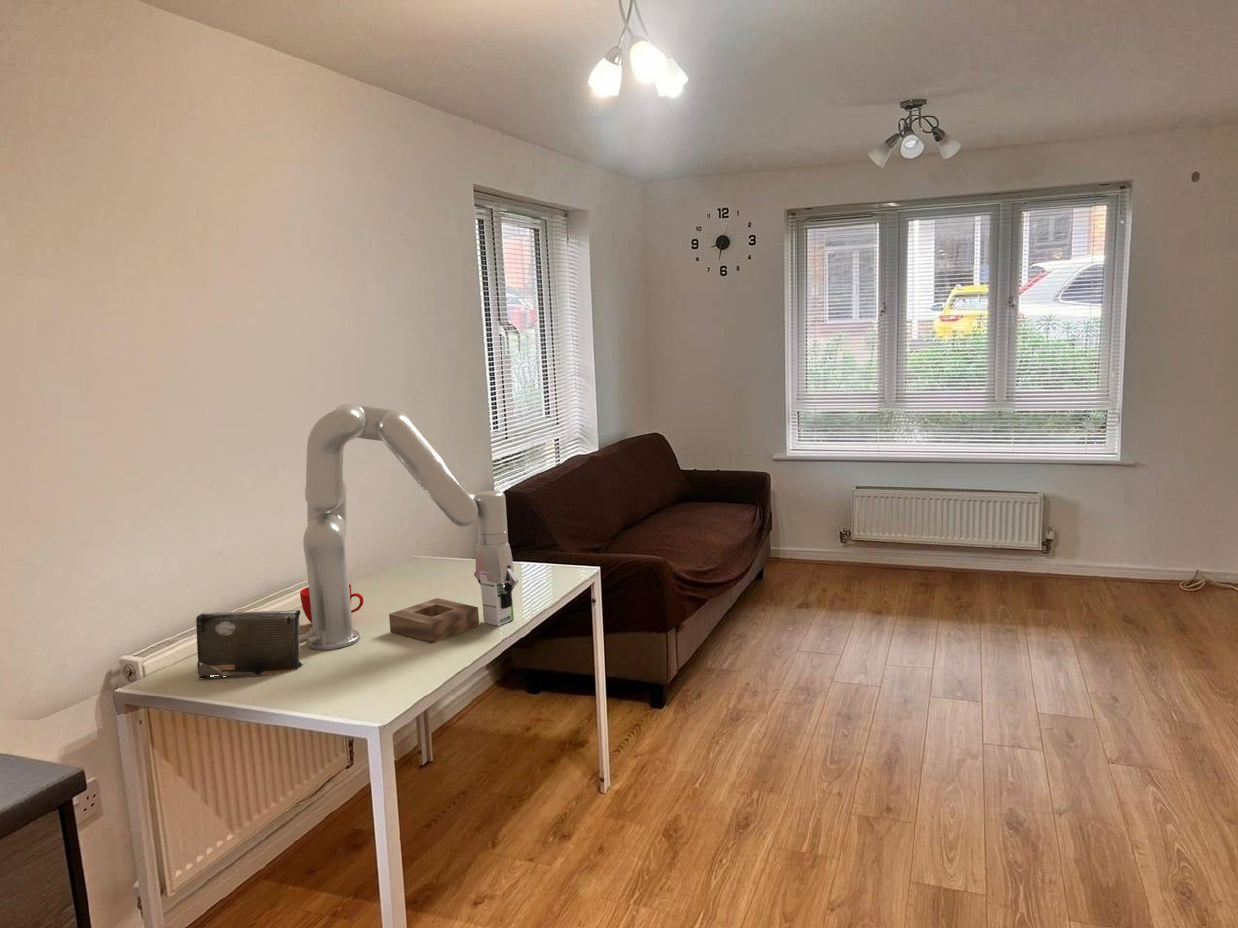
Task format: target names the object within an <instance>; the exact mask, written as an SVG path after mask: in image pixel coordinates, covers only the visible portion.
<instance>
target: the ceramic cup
mask: <svg viewBox="0 0 1238 928" xmlns="http://www.w3.org/2000/svg"><path fill="white" fill-rule="evenodd" d="M349 591H350V602H351V603H352V598H353V597H357V598H358V599H359V604H358V605H357V607H356V608H353V609H351V614H353V613H355V612H358V611H359V610H360V609H361V607H362V606H363V604H364V597H363V596H362V594H360V593H357V592H354V593H352V584H351V583H349ZM299 597H300V602H301V607H302V610H303V613H304V615H305V617H306V619H307V620H308V621H309V623H311V624H312V615H311V605H310V594H309V586H306V587H304V588H302V589H301V590H300V593H299Z"/></svg>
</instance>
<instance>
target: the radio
mask: <svg viewBox="0 0 1238 928" xmlns="http://www.w3.org/2000/svg"><path fill="white" fill-rule="evenodd" d="M300 615H301V610H300V609H297V610H271V611H270V610H269V611H266V610H264V611H263V610H262V611H244V612H243V611H242V612H241V611H239V612H233V611H220V612H202V613H200V614H198V615H197V616H196V619H195V622H196V646H197V650H196V651H197V664H196V666H197V667H196V668H197V669H196V671H197V675H198V676H199V677H198V678H210V679H218V678H217V677H220V678H219V679H227V678H228V677H229V678H244V677H245V678H246V677H263V676H271V675H276V674H281V673H287V672H296V671H298V670H299V669H298V668H299V667H300V668H301V667H303V666H302V663H303V662H304V661H300V644H299V636H300ZM297 669H298V670H297ZM295 670H296V671H295ZM210 675H219V676H214V677H215V678H214V677H210ZM223 676H226V677H224V678H223Z"/></svg>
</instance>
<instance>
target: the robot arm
mask: <svg viewBox="0 0 1238 928" xmlns="http://www.w3.org/2000/svg"><path fill="white" fill-rule="evenodd" d="M307 439H308V440H307V445H306V463H305V464H306V466H305V467H306V469H305V470H306V471H305V474H306V475H305V488H304V498H305V500H306V503H307V506H306V507H307V509H306V510H307V511H306V512H307V526H306V528H305V530H304V535H303V540H302V541H303V542H302V543H303V545H302V546H303V552H304V558H305V559H304V560H305V565H306V567H305V568H306V572H307V573H306V574H307V583H308V587H309V594H310V605H311V615H312V623H311V624H312V626H310V627H308V631H307V632H306V633H304V634H299V645H300V644H303V643H305V642H306V644H307V646H308V647H309V648H311V649H313V650H321V651H322V650H326V651H328V650H335V649H340V648H345V647H347V646H350V645H353V644H355V643H357V642H358V641H359V640H360V638H361V634H360V632H359V631H358V630H356V629H354V626H353V617H352V616H353V615H352V614H353V613H351V610H352V601H351V602H350V591H349V584H350V583H349V571H348V570H349V569H348V562H347V561H348V560H347V551H346V535H347V485H346V482H345V480H344V478H343V477H344V475H343V467H344V465H343V464H344V448H345V446H346V444H348V443H349V442H350V441H352V440H354V439H363V440H370V441H378V442H382V443H384V445H385V446H386V447H387V449H389V450H390V452H391V453H392V454H393V455H394V456H395V458H396V459H397V460H398V461H399V462H400V463H401V465H402V466H403V467H404V468H405V469H406V470H407V472H408V473H409V474H410V476H411V477H412V478H413V479H414V480H415V481H416V482H417V484H418V485H419V486H420V487H421V488H422V489H423V490H424V491H425V492H426V493H427V495H428V496H429V497H430V498H431V499H432V501H433V502H434V503H435V504H436V505H437V506H438V508H439V509H440V511H442V513H443V514H444V515H445V516H446V517H447V518H448V519H449V520H450V522H452V524H454V525H455V526H457V527H468V526H471V525H472V524H474V523H475V522H476V521H477V537H478V542H477V544H476V547H475V548H476V549H475V572H473V575H474V577H475V579H476V580H477V582H478V584H479V585H480V586H481V581H480V571H483V572H485V573H486V577H487V580H488V581H489V582H492V583H496V584H500V588H501V591H502V594H501V595H500V596H501V608H502V609H505V608H508V607H510V606H511V605H512V604H511V592H513V589H515V586H517V585H518V583H519V579H518V578H517V576H516V575H515V573H514V561H513V555H512V549H511V547H510V546H511V545H510V543H509V536H508V519H507V505H506V500H507V499H506V495H505V493H504V492H503V491H501V490H484V491H481V492H480V491H479V492H475V491H473V492H472V491H466V490H465V489H464V488H463V487H462V486H461V484H460V483H459V482H458V481H457V480H456V478H455V477H454V476H453V474H452V472H451V471H450V469H449V468H448V467H447V465H446V463H445V462H444V460H443V458H442V457H441V456H440V454H439V453H438V452H437V451H436V450H435V448H434V447H433V446H432V445H431V444H430V442H429V441H428V440H427V438H425V436H424V435H423V434H422V433H421V432H420V431H419V429H418V428H417V427H416V426H415V425H414V423H413V422H412V420H411V419H410V417H409V416H408V415H407V414H405V412H403V411H400V410H396V409H388V408H381V407H380V408H379V407H375V406H368V405H367V406H366V405H362V404H354V403H344V404H341V405H339V406H337V407H336V408H335V409H334V410H331V411H330V412H329V413H326V414H324V416H321V418H320V419H318V420H317V422H315V424H314V425H313V427H312V429H311V431H310V433H309V436H308V438H307ZM487 572H489V573H491V574H489V573H487ZM488 574H489V575H488ZM505 580H506V581H505ZM505 583H506V585H507V586H506V588H505V585H504V584H505Z"/></svg>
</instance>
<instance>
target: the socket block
mask: <svg viewBox="0 0 1238 928" xmlns="http://www.w3.org/2000/svg"><path fill="white" fill-rule="evenodd" d="M388 619H389V630H390V631H389V632H390V633H391V634H394V635H397V636H401V637H405V638H408V639H412V640H415V641H419V642H421V643H422V642H424V643H426V644H430V645H433V644H435V643H437V642H441V641H443V640H446V639H448V638H452V637H454V636H457V635H458V634H461V633H464V632H466V631H467V632H468V631H469V630H471V629H474V628H477V627H479V626H480V616H479V607H478V606H475V605H470V604H466V603H463V602H462V603H461V602H456V601H453V600H448V599H443V598H440V597H436V598H433V599H430V600H427V601H423V602H422V603H421V602H420V603H418V604H415V605H412V606H409V607H406V608H403V609H400V610H397V611H395V612H391V613H389V614H388Z"/></svg>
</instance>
